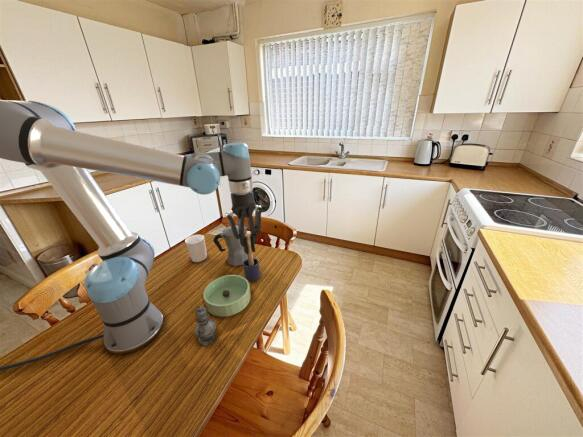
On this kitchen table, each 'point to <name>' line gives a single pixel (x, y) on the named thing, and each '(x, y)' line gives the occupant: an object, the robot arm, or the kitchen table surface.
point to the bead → (226, 293)
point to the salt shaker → (204, 327)
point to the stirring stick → (249, 250)
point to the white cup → (196, 247)
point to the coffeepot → (232, 246)
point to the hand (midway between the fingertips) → (249, 251)
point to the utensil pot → (251, 270)
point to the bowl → (234, 301)
